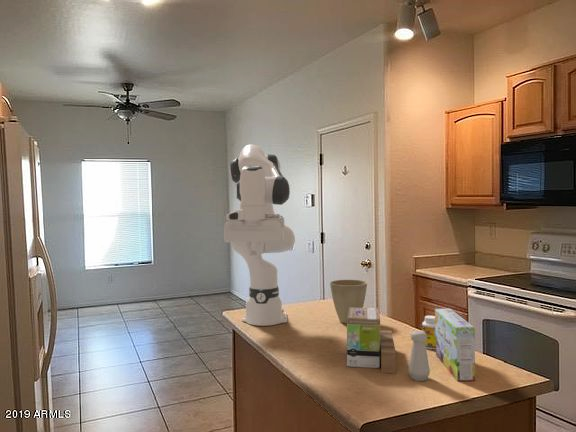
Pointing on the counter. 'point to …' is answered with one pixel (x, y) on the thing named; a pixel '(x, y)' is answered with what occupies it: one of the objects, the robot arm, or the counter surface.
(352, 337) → the tea box
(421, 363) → the salt shaker
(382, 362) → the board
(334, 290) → the plant pot
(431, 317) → the supplement bottle
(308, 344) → the counter surface
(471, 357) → the snack box
